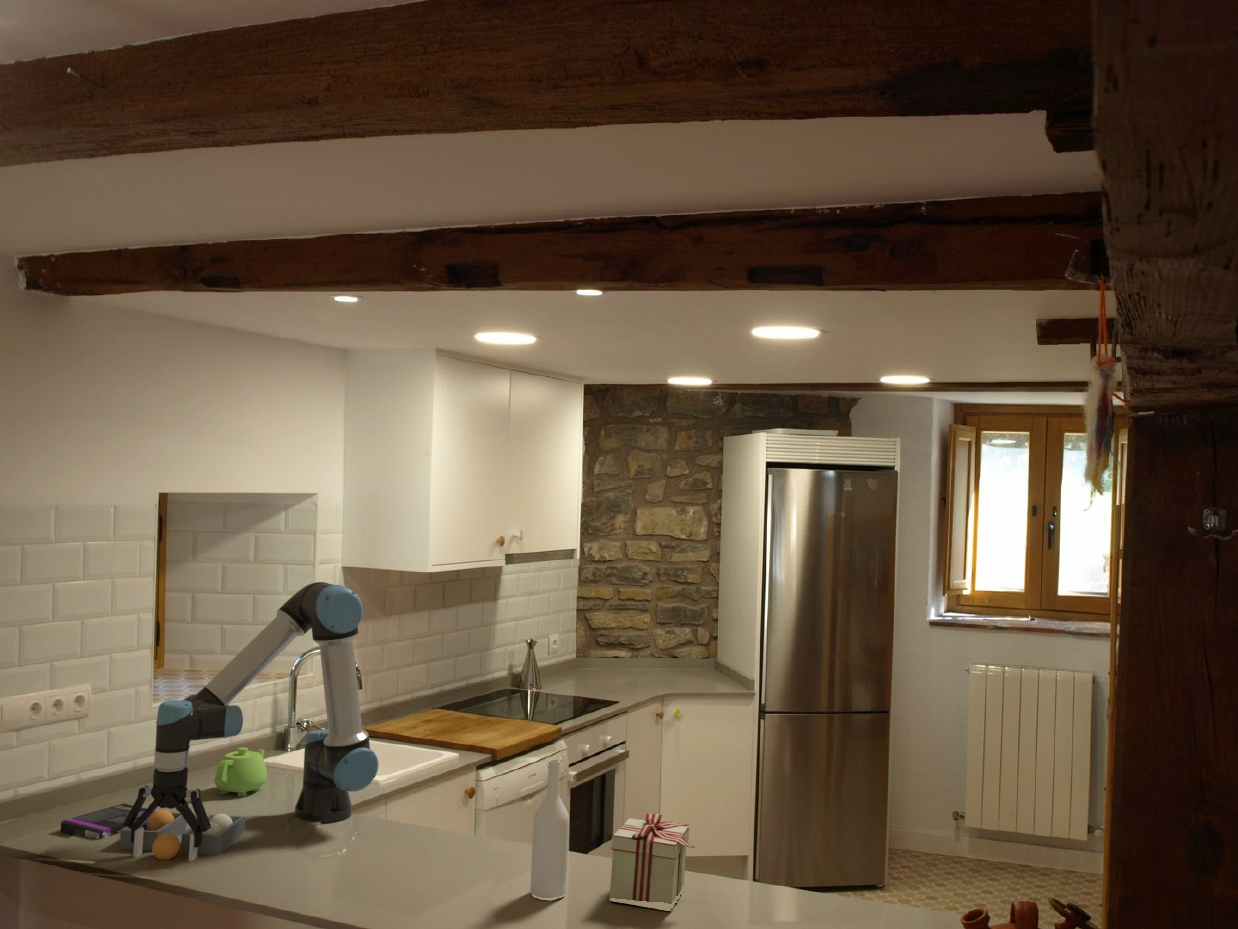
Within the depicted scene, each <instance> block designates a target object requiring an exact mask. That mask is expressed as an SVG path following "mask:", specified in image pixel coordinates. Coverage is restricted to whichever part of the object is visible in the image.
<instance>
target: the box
mask: <svg viewBox="0 0 1238 929" xmlns="http://www.w3.org/2000/svg"><path fill="white" fill-rule="evenodd" d="M132 807H133V804H127V803H125V802H124V803H120V804H116V805H114V806H109V807H106V808H103V809H100V810H95V811H93V812H89V813H86V814H85V813H84V814H81V815H78V816H75V817H72V818H67V819H65V820H61V821H60V830H59V831H60V832H62V833H61V834H64V835H70V836H75V835H78V836H83V837H87V838H92V839H96V840H102V839H105V838H108V837H112V836H114V835H118V834H120V833H121V829H123V828H125V827H124V825H123V824H124V822H125V820H126V818H127V816H128V814H129V812H130V811H131V809H132ZM146 809H147V808H145V807H141V809H140V811H139V813H138V815H137V816H136V818H135V820H134V821H136V820H137V819H138V818H139V817H140V816H141V815H142V814H143V812H144V811H145V810H146Z"/></svg>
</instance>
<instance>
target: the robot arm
mask: <svg viewBox="0 0 1238 929" xmlns="http://www.w3.org/2000/svg"><path fill="white" fill-rule="evenodd" d="M363 615H364V606H363V602H362V600H361V598H360V596H359V595H358V594H357V593H356V592H355V591H354V590H352V589H350V588H349V587H347V586H344V585H340V584H333V583H328V582H323V581H319V582H318V581H316V582H312V583H309V584H307V585H305V586H303V587H302V588H300V589H299V590H298V591H297V592H296V593H295V594H293V595H292V596H291V597H290V598H289V599H288V600H286V601H285V602H284V603H283V604H282V605H281V606H280V608H278V609H277V610H276V616H275V618H273V619H272V620H271V621H270V622H269V623H268V624H267V626H265V627H264V628H263V629H262V630H261V631H260V632H259V633H258V634H256V636H255V637H254V638H253V639H252V640H251V641H250V642H248V644H246V646H245V647H244V648H243V649H242V650H241V651H240V652H239V653H237V655H235V656H234V658H232V659H231V660H230V661H229V662H228V663H227V664H226V665H225V666H224V667H223V668H222V669H221V670H220V671H219V672H218V673H217V674H216V675H214V677H213V678H212V679H211V680H209V682H208V683H207V684H206V685H204V686H203V688H201V690H200V691H198V692H197V693H196V694H191V695H188V696H186V697H185V698H183V699H179V700H178V699H173V700H172V699H171V700H166V701H162V703H160V704H159V706H158V710H157V716H156V723H155V724H156V731H155V749H154V759H153V760H154V761H153V767H154V770H153V774H152V776H153V777H152V787H149V786H148V785H146V784H145V785H144V786H142V787H140V788H139V789H138V793H137V798H136V800H135V802H134V803H133V804H132V806H133V807H132V809H131V811H130V812H129V814H128V816H127V818H126V820H125V822H124V824H123V825H124V827H129V828H130V829H131V843H134V850H133V855H132V858H138V857H140V856H141V855H142V854H143V850H142V846H143V831H144V828H142V827H141V828H139V827H140V826H141V825H142V824H143V823H144V821H145V820H146V819H147V818H148V817H149V816H150V815H151V814H152V813H153V811H156V810H157V808H158V807H159V808H160V809H170V810H171V809H172V810H174V809H176V811H177V812H178V813H181V815H182V816H183V818H184V819H185V820H186V822H187V825H188V826H189V827H190V828H191V829H192V831H193V833H192V834H190V849H189V853H188V862H193V861H194V860H195V859H197V858H198V854H197V849H198V847H199V846H201V844H202V832H205V831H207V830H208V829H210V828H211V825H210V822H209V819H208V817H207V816H208V814H207V812H206V810H205V806H204V804H203V801H202V799H201V789H200V788H195V789H190V790H189V789H188V787H187V786H188V785H187V784H188V776H189V774H188V773H189V769H188V767H187V766H188V765H189V759H190V758H189V756H190V745H191V744H190V743H191V741H199V740H200V741H202V740H211V739H222V738H223V739H227V738H231V737H235V736H238V735H239V734H240V733H241V731H242V729H243V724H244V716H243V710H242V708H240V706H239V705H234V704H232V705H229V704H230V703H231V702H232V701H233V700H234V699H236V697H237V696H238V695H240V693H241V692H242V691H243V690H244V689H246V687H248V686H249V684H250V683H251V682H252V681H254V680H255V678H256V677H257V676H259V675H260V674H261V673H262V672H263V670H264V669H266V668H267V667H268V666H269V664H271V663H272V662H273V661H274V660H275V659H276V658H277V657H278V655H280V654H281V653H282V652H283V651H284V650H285V649H286V648H287V646H289V645H290V644H291V643H292V642H293V641H294V640H295V639H296V638H297V637H304V636H305V635H306V633H308V632H309V631H310V630H311V635H312V641H314V642H315V643H316V644H318V645H319V652H320V662H321V671H322V674H321V675H322V680H323V681H322V682H323V691H324V692H323V693H324V701H325V711H326V720H327V729H316V730H312V731H309V732H308V733H307V734H306V736H305V741H304V746H303V747H304V754H303V755H304V756H303V776H302V778H303V779H302V788H301V791H300V793H299V796H298V797H297V798H298V799H297V801H296V803H295V807H294V813H293V814H294V817H295V818H296V819H300V820H302V821H303V820H304V821H307V822H308V821H309V822H320V823H321V824H323V823H324V824H325V823H334V822H338V821H343V820H346V819H348V818H349V817H351V816H352V814H353V813H352V812H353V805H352V801H351V798H350V797H351V796H350V795H349V792H350V793H351V792H352V793H353V792H359V791H362V790H363V789H365V788H367V787H368V786H369V785H371V783H372V781H373V780H374V779H375V778H376V776H377V775H378V770H379V758H378V756H377V755H376V752H375V751H374V750H372V749H371V747H370V746H371V744H370V736H369V732H368V731H367V730H365V729H363V726H362V714H361V706H360V705H361V704H360V695H359V686H358V676H357V674H358V673H357V666H356V665H357V664H356V656H355V648H354V646H355V645H354V640H355V639H356V638H357V636H358V635H359V624H360V622H361V621H362V619H363ZM150 795H151V797H152V798H153V801H152V802H151V803H150V804H149V805H148V807H147V808H146V810H145V811H144V812H143V814H142V815H141V816H140V817H139V818H138V819H137V820H136V821H134V820H135V818H136V816H137V815H138V813H139V811H140V809H141V808H143V805H144V803H145V802H146V799H147V797H149V796H150ZM186 797H188V800H190V804H191V806H192V809H193V810H192V809H191V808H190V806H189V803H188V801H187V800H186ZM190 828H189V829H190Z"/></svg>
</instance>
